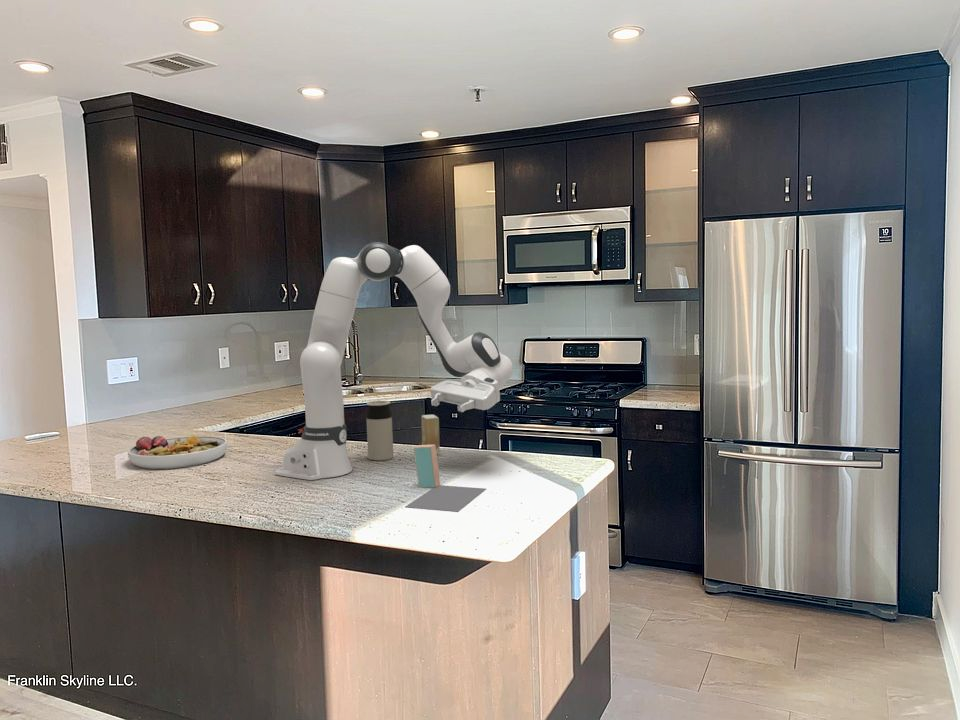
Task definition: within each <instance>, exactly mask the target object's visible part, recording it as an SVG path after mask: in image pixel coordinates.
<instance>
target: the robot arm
mask: <svg viewBox="0 0 960 720" xmlns="http://www.w3.org/2000/svg"><path fill="white" fill-rule="evenodd" d="M391 277H397V278H398V279H400V280H401V281H402V282H403V283H404V284H405V285H406V287H407V288H408V290H409V291H410V293H411V294H412V296H413V298H414V299H415V301H416V302H415V303H416V304H417V314H418V317H419V319H420V320H419V321H421V324H422V325H423V327H424V329H425V331H426V333H427V334H428V336H429V338H430V340H431V342H432V344H433V345H434V347H435V350H436V351H437V353H438V355H439V357H440V360H441V363H442V366H443V367H444V369H445V370H446V372H447V373H449V374H450V375H451V376H453V377H455V378H461V379H460V381H456V380H451V379H448V380H447V379H445V380H443V381H440V382H438V383H437V384H434V385H433V386H431V387H430V395H431V396H430V397H431V400H430V401H431V406H433V407H438V406H439V405H440V402H444V403H449V404H452V405H457V407H456V408H457V411H458V412H459V413H464V412H465V411H467V410H472V409H476V410H482V411H486V410H489V409H491V408H493V406H495V405H496V404H497V403H499V402H500V401H501V393H500V388H501V387H502V386H504V385H505V384H506V383H507V382H508V381H509V380H510V379H511V377H512V374H513V372H514V366H513V365H514V364H513V362H512V360H511V359H510V358H509V357H508V356H507V355H505V354H503V353H501V352H500V351H499V347H498V346H497V344H496V343H495V341H494V340H493V339H492V337H490V336H489V335H488V334H487V333H484V332H480V331H479V332H475V333H473V334H471V335H469V336H468V337H466V338H464V339H462V340H461V341H458V342H456V341H454V339H453V337H452V335H451V334H450V332H449V331H448V329H447V326H446V325H445V322H444V321H443V318H442V315H443V314H442V313H443V310H444V307H445V306H446V304H447V303H448V300H449V298H450V294H451V284H450V282H449V279H448V277H447V276H446V275H445V273H444V272H443V270H442V269H441V268H440V267H439V265H438V264H437V262H436V261H435V260H434V259H433V258H432V257H431V255H429V253H427V252H426V250H424V248H422V247H421V246H419V245H417V244H412V245H407V246H405V247H403V248H402V249H398V248H396V247H394V246H391V245H390V244H387V243H384V242H381V241H380V242H379V241H373V242H370V243H367V244H366V245H365V246H364V247H363V248H362V249H361V250H360V251H359V253H358V254H357V256H356V257H354V258H353V257H352V258H351V257H346V256H338V257H335V258H333V259H332V260H331V261H330V263H329V264H328V267H327V269H326V270H325V273H324V275H323V279H322V281H321V285H320V288H319V292H318V296H317V300H316V303H315V307H314V311H313V315H312V320H311V326H310V332H309V335H308V336H309V337H308V341H307V345H306V347H305V348H304V349H303V351H302V352H301V355H300V360H299V363H300V364H299V365H300V373H301V383H302V391H303V397H304V411H305V425H304V426H303V427H302V428H299V429H298V431H299V432H298V434H301V437H300V438H299V440H298V441H296V443H294V444H293V445H292V446H291V447H290V448H288V449H287V450H286V451H285V452H284V455H283V458H282V459H283V460H282V461H283V462H282V466H281V467H279V468H277V469H276V470H275V474H274V475H276V476H280V477H282V476H283V477H288V478H294V479H300V480H307V481H314V480H315V481H316V480H319V479H326V478H334V477H336V478H337V477H339V476H343V475H347V474H349V473H351V472H352V471H353V468H352V465H351V462H350V458H349V454H348V447H347V436H348V435H347V425H346V423H345V410H344V409H345V408H344V394H343V393H344V392H343V385H342V373H341V366H342V363H343V359H344V356H345V351H346V347H347V343H348V338H349V335H350V331H351V330H350V329H351V327H352V322H353V319H354V315H355V312H356V311H355V310H356V307H357V304H358V300H359V295H360V291H361V289H362V287H363V284H364V283H365V282H366V281H374V282H375V281H376V282H381V281H384V280H387V279H389V278H391Z"/></svg>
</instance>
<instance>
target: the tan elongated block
mask: <svg viewBox="0 0 960 720" xmlns="http://www.w3.org/2000/svg"><path fill="white" fill-rule="evenodd" d="M413 451H414V459H415V460H414V461H415V466H416V475H417V484H418V487H419V488H431V489H432V488H434V487H437V486H439V485H441V479H440V472H439V471H440V470H439V463H438V454H436V446H435V444H433V445H422V444H418V445H416V446H414V447H413Z"/></svg>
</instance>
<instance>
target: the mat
mask: <svg viewBox="0 0 960 720" xmlns="http://www.w3.org/2000/svg"><path fill="white" fill-rule="evenodd" d="M485 491H487V488H483V487H482V488H481V487H469V486H457V485H455V486H454V485H441V484H440V485H439V486H437V487H432V488H431V489H429V490H428V491H427V492H424V493H423V494H421V495H420V496H419V497H417V498H416V499H415V500H412V501H411V502H410V503H408V504H407V505H405V506H404V508H406V509H417V510H418V509H419V510H430V511H440V512H441V511H442V512H454V513H459V512H460V511H462V509H464V508H465V507H466V506H468V504H470V503H471V502H472V501H474V500H475V499H476V498H478V497H479V496H480V495H481V494H483V493H484V492H485Z"/></svg>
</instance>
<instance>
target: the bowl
mask: <svg viewBox="0 0 960 720" xmlns="http://www.w3.org/2000/svg"><path fill="white" fill-rule="evenodd" d="M227 449H228V440H227V439H226V438H223V437H219V436H211V435H210V436H209V435H207V436H206V435H203V436H199V435H194V434H193V435H190V436H181V437H173V438H172V437H171V438H165V437H163V436H160V435H158V436H154V437H153V438H151V437H149V436H142V437H140V438H139V439H137V441H136V442H135V446H133V447H130V448H128V450H127V456H128V460H129V461H130V463H132V464H133V465H134V466H135V467H136V466H137V467H139V468H141V469H147V470H148V469H149V470H169V469H171V470H172V469H181V468H188V467H194V466H195V467H196V466H198V465H199V466H200V465H203V464H207V463H210V462H213V461H215V460H217V459H219V458H221V457H222V456H223V455H225V453H226V451H227Z"/></svg>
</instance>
